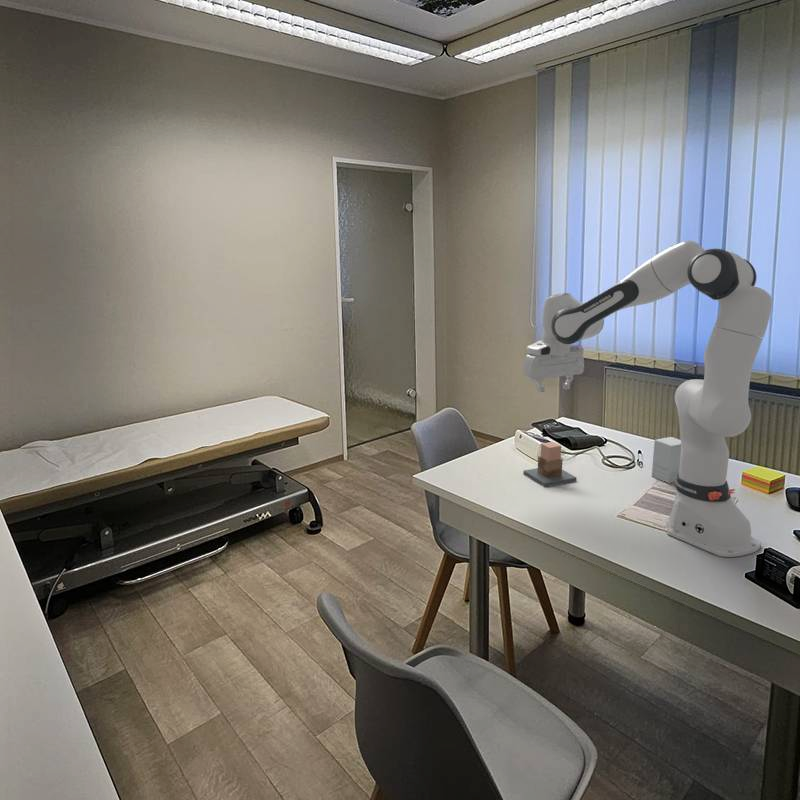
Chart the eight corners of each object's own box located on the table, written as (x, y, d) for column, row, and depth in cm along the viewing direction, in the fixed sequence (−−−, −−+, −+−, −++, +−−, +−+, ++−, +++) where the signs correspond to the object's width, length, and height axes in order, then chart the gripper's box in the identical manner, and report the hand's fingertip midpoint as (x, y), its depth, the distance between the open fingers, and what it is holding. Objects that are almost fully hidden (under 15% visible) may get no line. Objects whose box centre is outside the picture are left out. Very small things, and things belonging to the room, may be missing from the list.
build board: (576, 480, 195) (576, 477, 195) (544, 486, 191) (544, 483, 191) (553, 468, 206) (554, 465, 206) (523, 473, 202) (523, 470, 201)
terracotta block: (560, 459, 196) (561, 445, 194) (548, 461, 194) (549, 447, 193) (552, 454, 200) (552, 441, 198) (540, 456, 198) (541, 443, 197)
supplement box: (686, 480, 194) (690, 442, 191) (667, 484, 191) (671, 446, 188) (668, 472, 201) (671, 436, 198) (650, 476, 198) (653, 439, 195)
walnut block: (561, 475, 197) (562, 459, 195) (547, 478, 195) (548, 461, 193) (551, 469, 202) (552, 454, 200) (537, 472, 200) (538, 456, 198)
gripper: (577, 342, 194) (574, 385, 198) (521, 347, 187) (520, 391, 190) (590, 345, 189) (587, 389, 192) (533, 350, 181) (531, 395, 185)
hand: (553, 390), depth 191 cm, fingers open, 8 cm apart
